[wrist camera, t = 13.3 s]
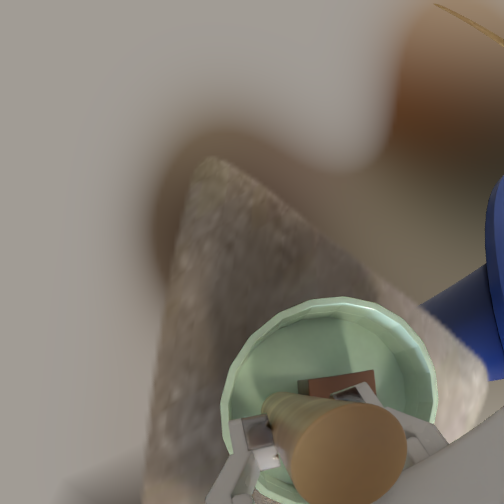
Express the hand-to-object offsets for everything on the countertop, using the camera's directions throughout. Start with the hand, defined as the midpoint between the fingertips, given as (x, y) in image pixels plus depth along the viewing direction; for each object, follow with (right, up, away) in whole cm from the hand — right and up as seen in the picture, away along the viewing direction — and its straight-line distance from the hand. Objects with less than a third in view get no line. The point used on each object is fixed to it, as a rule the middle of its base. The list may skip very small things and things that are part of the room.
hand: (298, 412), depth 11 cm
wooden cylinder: (0, -4, +7) cm, 8 cm away
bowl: (+3, -4, +9) cm, 10 cm away
